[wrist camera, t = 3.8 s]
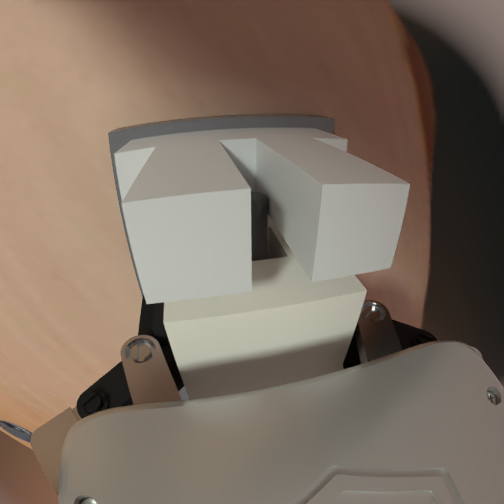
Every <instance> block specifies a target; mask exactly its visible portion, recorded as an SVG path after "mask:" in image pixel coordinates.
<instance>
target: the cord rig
mask: <svg viewBox="0 0 504 504" xmlns="http://www.w3.org/2000/svg"><path fill="white" fill-rule="evenodd" d="M108 136H109V144H110V152H111V159H112V165H113V172H114V178H115V184H116V190H117V195H118V200H119V205H120V210H121V215H122V220H123V224H124V229H125V233H126V238H127V242H128V246H129V250H130V254H131V258H132V262H133V265H134V269H135V273H136V276H137V280H138V283H139V287H140V290H141V294H142V297H143V294H144V297H145V300H146V304H153V303H162V302H171V301H180V300H189V299H197V298H206V297H214V296H221V295H229V294H236V293H244V292H251V291H252V261H258V260H266V259H267V223H268V214H269V216H270V218H271V219H272V221H273V222H274V224H275V225H276V227H277V228H278V230H279V231H280V233H281V235H282V236H283V238H284V239H285V241H286V242H287V244H288V246H289V247H290V249H291V250H292V252H293V254H294V255H295V257H296V258H297V260H298V261H299V263H300V265H301V266H302V268H303V269H304V271H305V273H306V274H307V276H308V278H309V279H310V281H311V282H317V281H323V280H329V279H334V278H340V277H346V276H352V275H357V274H363V273H368V272H373V271H379V270H384V269H389V268H391V265H392V261H393V258H394V254H395V251H396V247H397V243H398V239H399V235H400V231H401V227H402V222H403V218H404V214H405V209H406V204H407V199H408V194H409V189H410V183H408V182H406V181H404V180H402V179H400V178H399V177H397V176H395V175H393V174H391V173H389V172H387V171H385V170H383V169H381V168H379V167H377V166H375V165H373V164H371V163H369V162H367V161H365V160H363V159H360V158H358V157H356V156H354V155H352V154H349V153H347V142H348V139H345V138H342V137H340V136H337V135H334V119H332V118H328V117H323V116H313V115H286V114H254V115H226V116H210V117H197V118H187V119H177V120H169V121H161V122H154V123H147V124H141V125H135V126H129V127H123V128H118V129H115V130H113V131H111V132H109V133H108ZM179 394H180V396H181V398H182V401H183V400H190V399H189V396H188V394H187V391H186V388H185V386H184V387H183V388H182V389H181V390H180V391H179Z"/></svg>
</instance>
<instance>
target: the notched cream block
mask: <svg viewBox="0 0 504 504" xmlns="http://www.w3.org/2000/svg"><path fill="white" fill-rule="evenodd" d="M366 293H367V290H366V288H365V287H364V286H363V285H362V283H361V282H360V281H359V280H358V278H357V277H356V276H355V275H352V276H346V277H340V278H334V279H329V280H323V281H317V282H311V281H310V279H309V278H308V276H307V274H306V273H305V271H304V269H303V268H302V266H301V265H300V263H299V261H298V260H297V258H296V257H295V255H294V254H293V252H292V250H291V249H290V247H289V246H288V244H287V242H286V241H285V239H284V238H283V236H282V235H281V233H280V231H279V230H278V228H277V227H276V225H275V224H274V222H273V221H272V219H271V218H270V216H269V214H268V223H267V259H266V260H258V261H252V291H251V292H244V293H236V294H229V295H221V296H214V297H206V298H197V299H189V300H180V301H171V302H164V319H163V323H164V326H165V330H166V333H167V336H168V339H169V342H170V346H171V349H172V352H173V355H174V358H175V361H176V363H177V366H178V369H179V372H180V375H181V378H182V380H183V383H184V386H185V388H186V391H187V394H188V396H189V399H190V400H193V399H201V398H210V397H217V396H224V395H231V394H237V393H243V392H249V391H255V390H260V389H265V388H270V387H275V386H280V385H285V384H289V383H293V382H298V381H302V380H306V379H310V378H314V377H318V376H322V375H326V374H329V373H333V372H336V371H340V370H341V367H342V364H343V362H344V359H345V357H346V354H347V351H348V348H349V345H350V343H351V340H352V337H353V334H354V331H355V328H356V325H357V322H358V319H359V316H360V313H361V309H362V306H363V303H364V299H365V296H366Z"/></svg>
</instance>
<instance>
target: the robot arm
mask: <svg viewBox="0 0 504 504" xmlns="http://www.w3.org/2000/svg"><path fill="white" fill-rule="evenodd" d="M163 319H164V302H162V303H153V304H146V300H145V297H144V294H143V300H142V307H141V315H140V323H139V332H138V336H134V337H132V338H130V339H129V340H127V341H126V342H125V343H124V345H123V346H122V349H121V359H122V361H121V362H120V363H119V364H117V365H116V366H115V367H114V368H113V369H111V370H110V371H109V372H108V373H106V374H105V375H104V376H103V377H101V378H100V379H99V380H98V381H97V382H95V383H94V384H93V385H92V386H90V387H89V388H88V389H87V390H86V391H84V392H83V393H82V394H81V395H80V397H79V399H78V401H77V406H76V407H75V408H73V409H71V408H70V407H69V408H68V409H66V410H65V411H63V412H62V413H60V414H59V415H57V416H56V417H54V418H53V419H51V420H50V421H48V422H47V423H45V424H44V425H42V426H41V427H39V428H38V429H36V430H35V431H34V432H33V434H32V436H31V446H32V449H33V451H34V453H35V455H36V457H37V459H38V461H39V463H40V465H41V467H42V469H43V471H44V473H45V474H46V476H47V478H48V480H49V481H50V483H51V485H52V486H53V488H54V490H55V491H56V493H57V495H58V496H59V504H504V388H503V387H502V385H501V384H500V382H499V381H498V379H497V378H496V376H495V375H494V374H493V372H492V371H491V370H490V368H489V367H488V366H487V364H486V363H485V362H484V361H483V359H482V355H481V354H480V352H479V351H478V350H477V349H476V348H474V347H472V346H468V345H467V344H465V343H462V342H459V341H453V340H442V339H439V341H437V339H436V338H435V337H434V336H433V335H432V334H431V333H429V332H427V331H425V330H422V329H419V328H416V327H413V326H410V325H407V324H404V323H401V322H398V321H395V320H392V319H391V316H390V314H389V311H388V310H387V308H386V307H385V306H384V305H383V304H381V303H379V302H377V301H374V300H364V303H363V306H362V309H361V313H360V316H359V319H358V322H357V325H356V328H355V331H354V334H353V337H352V340H351V343H350V345H349V348H348V351H347V354H346V357H345V359H344V362H343V364H342V367H341V370H340V371H336V372H333V373H329V374H326V375H322V376H318V377H314V378H310V379H306V380H302V381H298V382H293V383H289V384H285V385H280V386H275V387H270V388H265V389H260V390H255V391H249V392H243V393H237V394H231V395H224V396H217V397H210V398H201V399H193V400H183V401H182V398H181V396H180V394H179V391H180V390H181V389H182V388H183V387H184V383H183V380H182V378H181V375H180V372H179V369H178V366H177V363H176V361H175V358H174V355H173V352H172V349H171V346H170V342H169V339H168V336H167V333H166V330H165V326H164V323H163Z"/></svg>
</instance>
